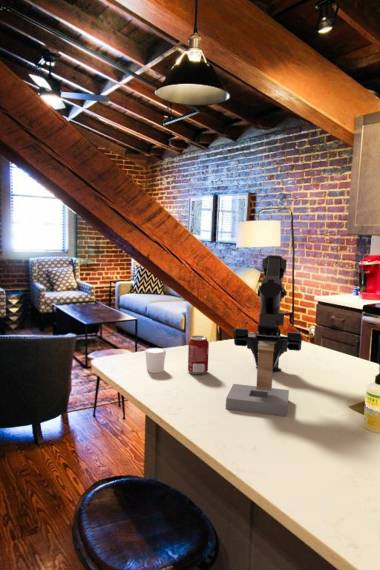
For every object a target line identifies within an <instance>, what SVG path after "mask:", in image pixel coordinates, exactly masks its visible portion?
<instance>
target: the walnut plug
mask: <svg viewBox="0 0 380 570" xmlns="http://www.w3.org/2000/svg"><path fill="white" fill-rule="evenodd" d="M274 344H275V342H263V341H259V344H258V366H257V368H256V369H257V370H256V385H255V386H256V390H266V391H271V389H272V388H273V373H274V372H273V355H274Z"/></svg>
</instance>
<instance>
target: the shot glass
mask: <svg viewBox="0 0 380 570" xmlns="http://www.w3.org/2000/svg"><path fill="white" fill-rule="evenodd" d="M166 352H167V351H166V349H164V348H160V347H149V348H146V349H145V363H146V371H147V372H148V373H152V374H159V373H162V372H164V369H165V362H166V361H165V360H166Z"/></svg>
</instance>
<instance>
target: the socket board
mask: <svg viewBox="0 0 380 570" xmlns="http://www.w3.org/2000/svg"><path fill="white" fill-rule="evenodd" d="M256 386H257V385H248V384H241V383H238V384H237V383H233V384H232V386H231V387H230V390H229V392H228V394H227V396H226V399H225V410H232V411H233V410H234V411H239V412H240V411H241V412H248V413H256V414H257V413H258V414H264V415H272V416H281V417H287V413H288V407H289V406H288V404H289V399H290V398H289V394H290V390H289V389H285V388H284V389H282V388H276V387H274V388H273V387H272V389H271V391H266V390H256Z"/></svg>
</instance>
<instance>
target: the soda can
mask: <svg viewBox="0 0 380 570" xmlns="http://www.w3.org/2000/svg"><path fill="white" fill-rule="evenodd" d="M209 345H210V342H209V340H208V337H207V336H205V335H192V336H190V339H189V340H188V350H187V351H188V352H187V353H188V354H187V355H188V356H187V371H188V372H189V373H190V374H193V375H199V376H200V375H204V374H206V373H207V372H208V371H209V348H210V346H209Z"/></svg>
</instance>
